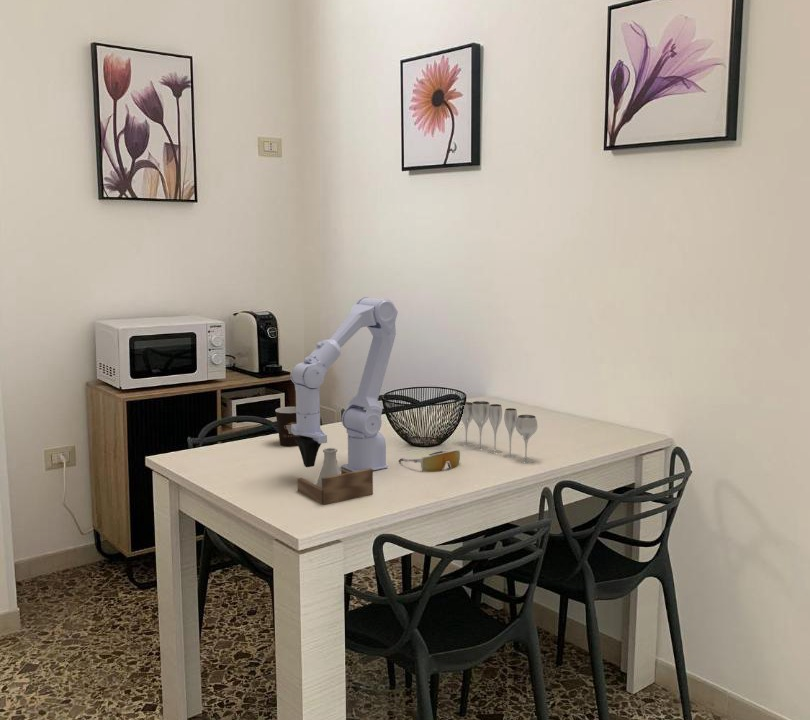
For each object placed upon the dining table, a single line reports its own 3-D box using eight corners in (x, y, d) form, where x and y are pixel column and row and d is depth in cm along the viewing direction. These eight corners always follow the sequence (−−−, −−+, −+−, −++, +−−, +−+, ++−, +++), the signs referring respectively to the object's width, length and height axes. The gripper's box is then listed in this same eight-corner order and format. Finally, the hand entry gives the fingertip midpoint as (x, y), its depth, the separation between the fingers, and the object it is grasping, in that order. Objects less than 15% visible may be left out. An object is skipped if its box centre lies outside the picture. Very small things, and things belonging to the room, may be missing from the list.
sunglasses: (426, 475, 208) (425, 456, 208) (393, 470, 220) (391, 451, 220) (470, 466, 216) (468, 447, 216) (435, 462, 228) (433, 444, 228)
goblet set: (453, 444, 238) (453, 399, 236) (467, 441, 242) (468, 396, 240) (526, 464, 217) (527, 415, 215) (541, 461, 221) (542, 412, 219)
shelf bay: (344, 481, 203) (344, 457, 202) (372, 494, 193) (372, 469, 192) (297, 490, 195) (297, 466, 194) (324, 504, 185) (323, 479, 184)
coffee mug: (271, 446, 236) (270, 412, 234) (282, 439, 244) (282, 406, 242) (310, 449, 233) (309, 414, 231) (320, 441, 241) (319, 408, 240)
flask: (330, 484, 201) (329, 443, 199) (352, 489, 196) (351, 448, 195) (308, 491, 195) (308, 450, 194) (331, 497, 191) (330, 455, 189)
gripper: (279, 409, 205) (281, 462, 207) (308, 419, 193) (309, 475, 195) (304, 405, 209) (305, 457, 211) (334, 415, 197) (335, 470, 199)
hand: (309, 466), depth 203 cm, fingers closed
